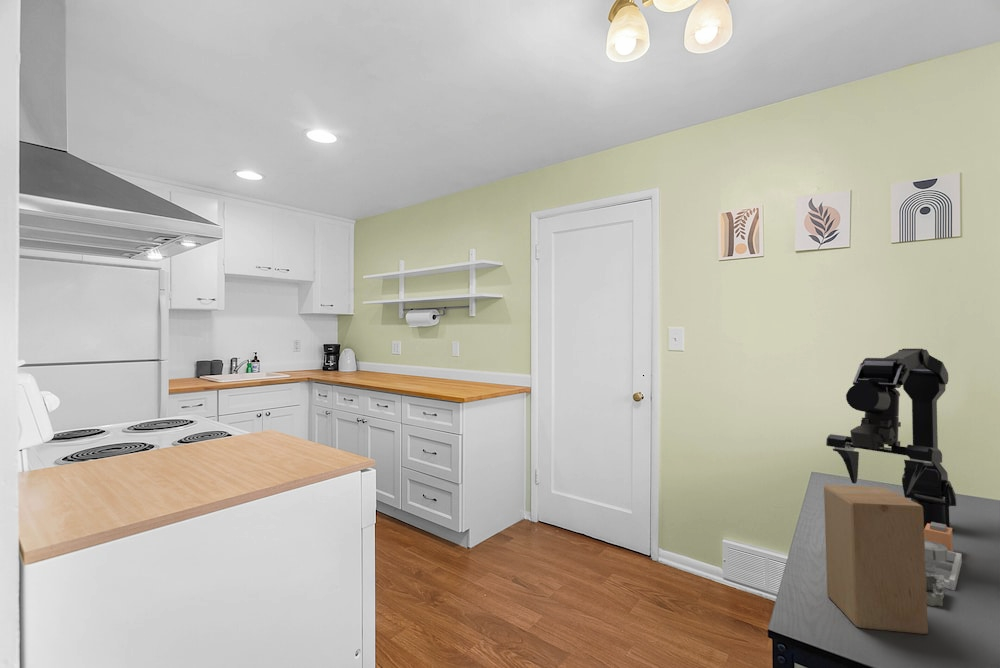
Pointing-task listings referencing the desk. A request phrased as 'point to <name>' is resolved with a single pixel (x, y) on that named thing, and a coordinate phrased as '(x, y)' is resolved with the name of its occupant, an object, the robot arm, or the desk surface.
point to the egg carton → (935, 589)
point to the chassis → (946, 569)
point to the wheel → (935, 551)
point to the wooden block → (876, 558)
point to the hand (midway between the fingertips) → (879, 488)
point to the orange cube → (939, 534)
